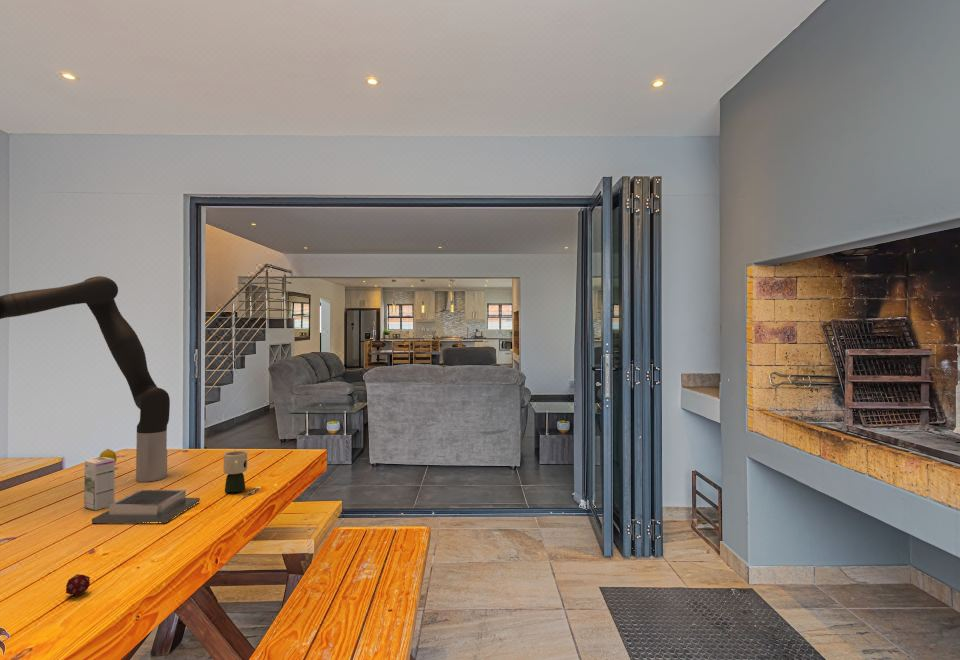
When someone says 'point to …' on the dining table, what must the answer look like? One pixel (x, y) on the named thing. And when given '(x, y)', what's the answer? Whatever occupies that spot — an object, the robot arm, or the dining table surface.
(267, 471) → the dining table surface
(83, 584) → the dice
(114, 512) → the collar stand
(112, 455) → the lemon
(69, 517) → the dining table surface
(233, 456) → the beige trophy cup
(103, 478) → the syrup box
